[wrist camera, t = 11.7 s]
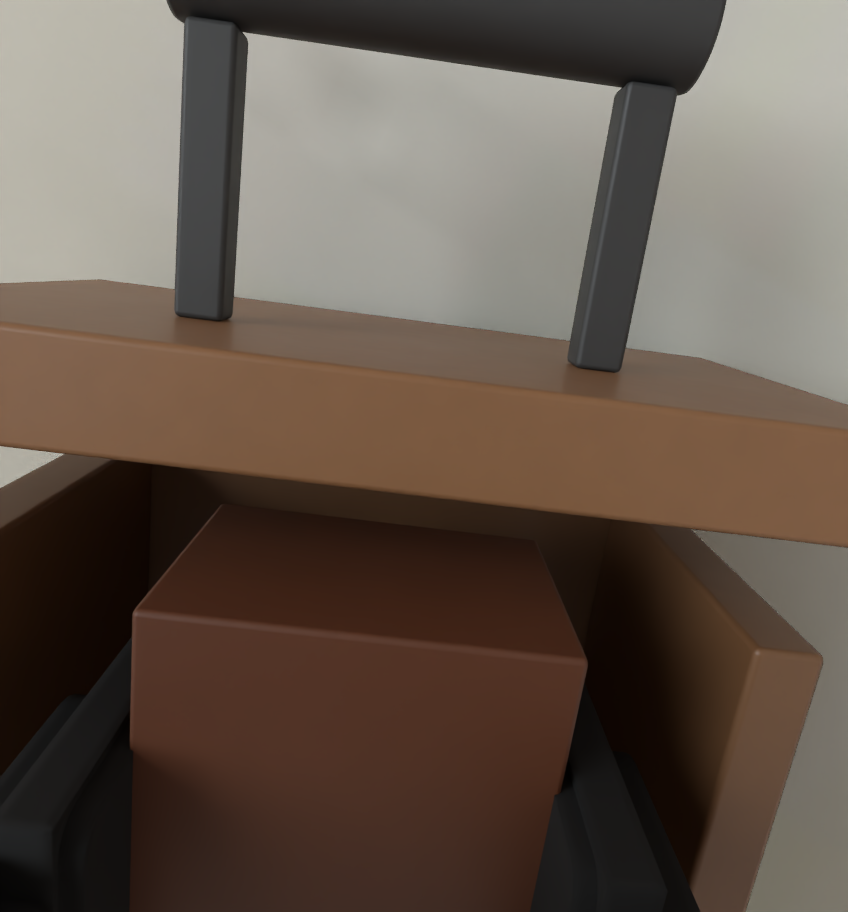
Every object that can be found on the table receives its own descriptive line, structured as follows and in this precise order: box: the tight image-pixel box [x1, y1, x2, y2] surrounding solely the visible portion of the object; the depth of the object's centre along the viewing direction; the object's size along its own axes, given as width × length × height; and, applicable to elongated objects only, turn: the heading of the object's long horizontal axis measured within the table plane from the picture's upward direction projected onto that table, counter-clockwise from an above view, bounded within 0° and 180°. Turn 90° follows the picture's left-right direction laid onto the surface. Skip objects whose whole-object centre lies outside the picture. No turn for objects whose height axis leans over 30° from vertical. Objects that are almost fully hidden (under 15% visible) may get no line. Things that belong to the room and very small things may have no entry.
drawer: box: [0, 0, 848, 912], centre depth 11 cm, size 18×11×7 cm, turn 173°
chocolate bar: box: [129, 504, 588, 912], centre depth 9 cm, size 6×4×3 cm
